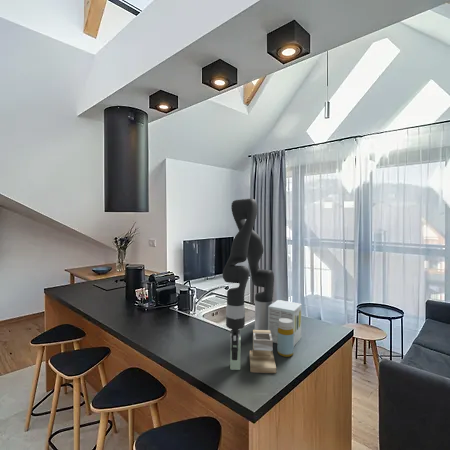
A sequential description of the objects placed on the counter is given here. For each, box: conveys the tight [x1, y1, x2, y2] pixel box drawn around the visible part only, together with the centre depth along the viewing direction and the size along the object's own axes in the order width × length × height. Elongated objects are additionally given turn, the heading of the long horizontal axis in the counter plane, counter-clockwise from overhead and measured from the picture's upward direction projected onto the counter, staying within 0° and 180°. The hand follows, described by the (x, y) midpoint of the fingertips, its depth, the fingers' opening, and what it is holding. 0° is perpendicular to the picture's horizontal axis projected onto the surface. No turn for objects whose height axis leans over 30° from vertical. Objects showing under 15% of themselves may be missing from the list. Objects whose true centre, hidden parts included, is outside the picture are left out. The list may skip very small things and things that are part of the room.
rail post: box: [229, 335, 242, 371], centre depth 116 cm, size 4×4×12 cm
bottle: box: [276, 318, 295, 358], centre depth 127 cm, size 7×7×15 cm
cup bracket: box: [249, 329, 277, 374], centre depth 119 cm, size 14×10×12 cm
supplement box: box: [268, 299, 303, 347], centre depth 142 cm, size 13×13×18 cm
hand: (234, 354), depth 116 cm, fingers open, 8 cm apart
